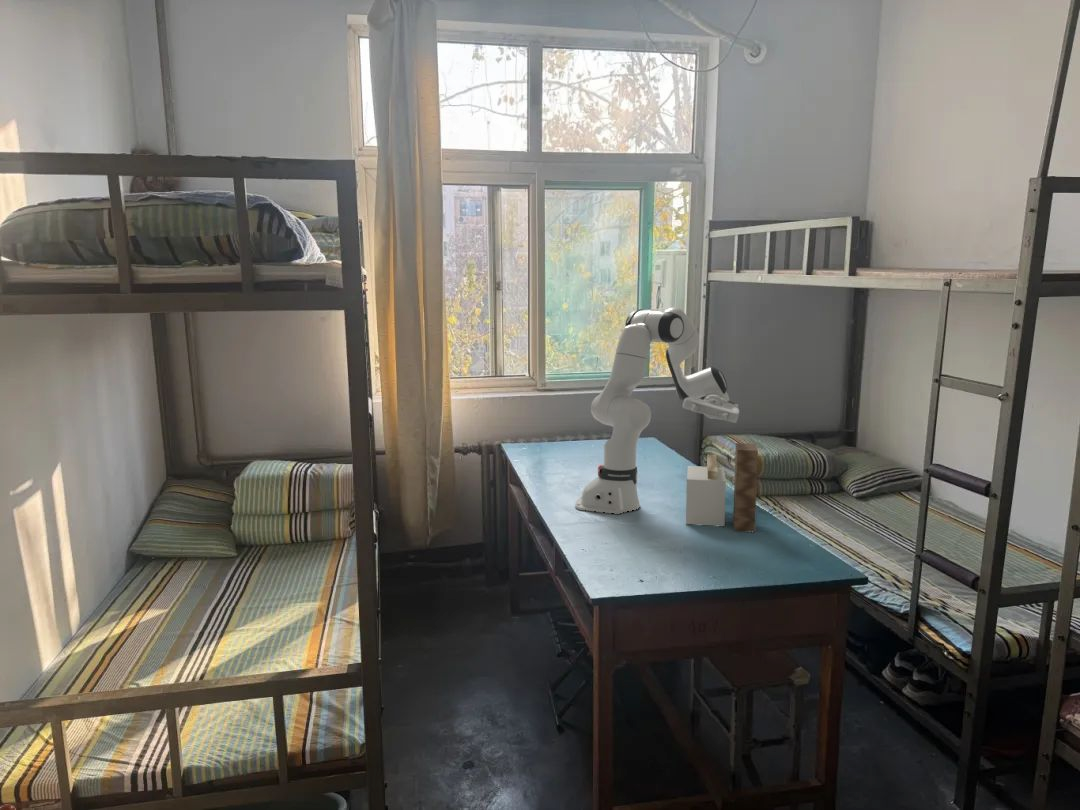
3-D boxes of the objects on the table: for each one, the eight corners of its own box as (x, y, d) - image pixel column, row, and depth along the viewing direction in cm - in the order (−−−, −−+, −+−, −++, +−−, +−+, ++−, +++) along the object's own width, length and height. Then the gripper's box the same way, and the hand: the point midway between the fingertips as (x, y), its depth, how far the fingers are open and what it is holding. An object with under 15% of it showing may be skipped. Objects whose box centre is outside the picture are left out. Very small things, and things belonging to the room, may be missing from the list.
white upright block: (685, 524, 234) (686, 479, 231) (686, 508, 251) (687, 465, 249) (724, 526, 231) (725, 481, 229) (722, 510, 249) (723, 467, 246)
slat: (707, 478, 232) (707, 470, 232) (707, 461, 255) (707, 454, 255) (717, 478, 231) (717, 471, 231) (715, 461, 255) (716, 454, 254)
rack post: (734, 531, 227) (737, 449, 223) (733, 521, 236) (735, 443, 232) (754, 532, 226) (757, 450, 221) (752, 522, 235) (755, 443, 231)
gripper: (688, 390, 273) (681, 397, 261) (742, 405, 267) (738, 413, 254) (684, 406, 275) (677, 413, 262) (738, 422, 268) (733, 430, 256)
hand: (707, 413), depth 258 cm, fingers open, 8 cm apart
